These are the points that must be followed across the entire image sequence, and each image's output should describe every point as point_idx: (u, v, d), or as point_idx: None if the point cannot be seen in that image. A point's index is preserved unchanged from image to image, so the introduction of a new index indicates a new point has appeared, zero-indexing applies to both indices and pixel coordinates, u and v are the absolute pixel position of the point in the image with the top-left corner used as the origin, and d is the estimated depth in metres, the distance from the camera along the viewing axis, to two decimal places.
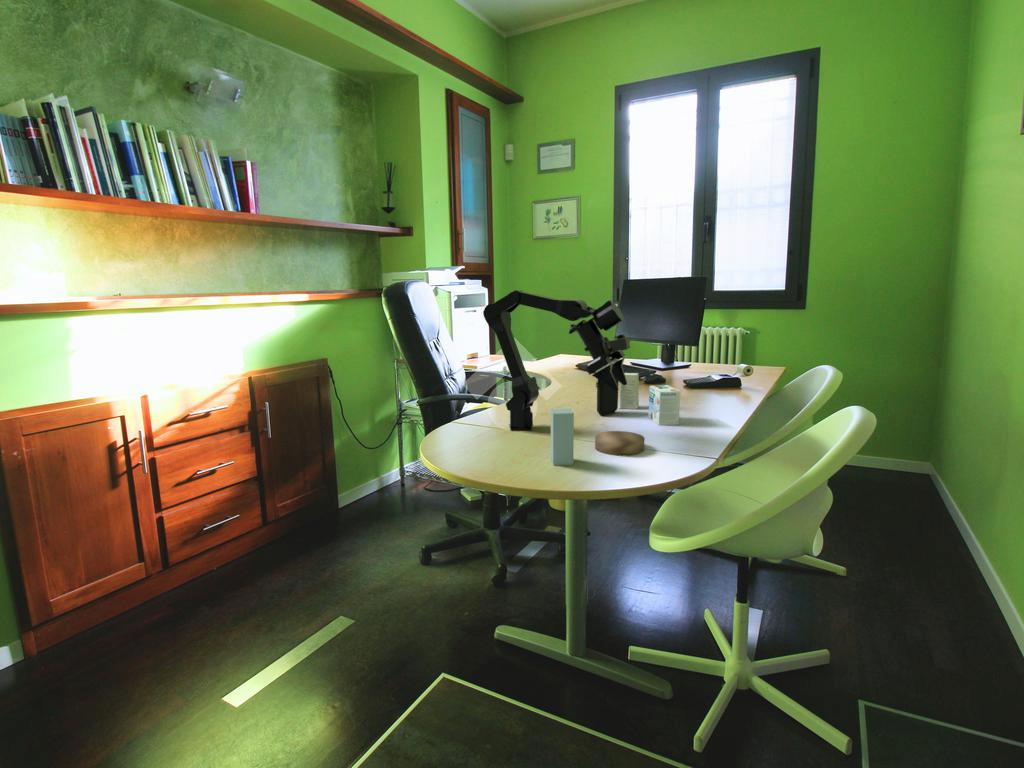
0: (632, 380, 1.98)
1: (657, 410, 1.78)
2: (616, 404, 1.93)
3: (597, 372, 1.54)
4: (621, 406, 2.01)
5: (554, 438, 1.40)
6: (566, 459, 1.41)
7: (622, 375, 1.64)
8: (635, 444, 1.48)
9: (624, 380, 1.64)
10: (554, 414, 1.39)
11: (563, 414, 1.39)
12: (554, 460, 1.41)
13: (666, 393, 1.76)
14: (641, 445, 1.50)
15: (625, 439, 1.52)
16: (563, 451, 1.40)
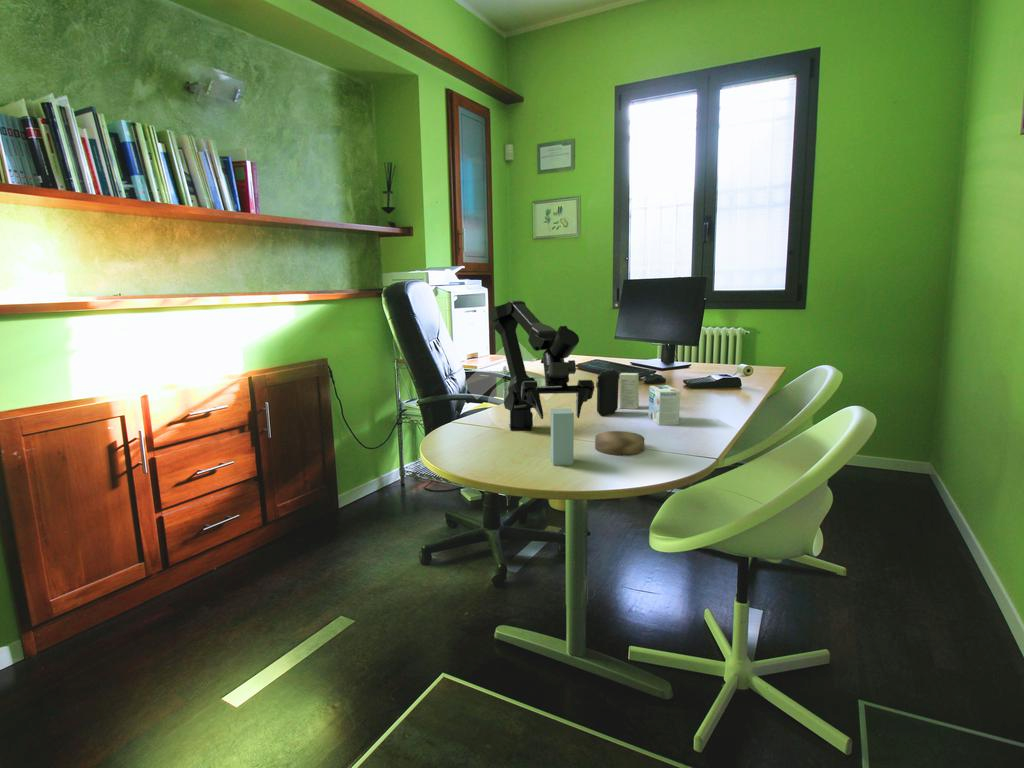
0: (632, 380, 1.98)
1: (657, 410, 1.78)
2: (616, 404, 1.93)
3: (527, 398, 1.49)
4: (621, 406, 2.01)
5: (554, 438, 1.40)
6: (566, 459, 1.41)
7: (577, 407, 1.46)
8: (635, 444, 1.48)
9: (577, 412, 1.46)
10: (554, 414, 1.39)
11: (563, 414, 1.39)
12: (554, 460, 1.41)
13: (666, 393, 1.76)
14: (641, 445, 1.50)
15: (625, 439, 1.52)
16: (563, 451, 1.40)
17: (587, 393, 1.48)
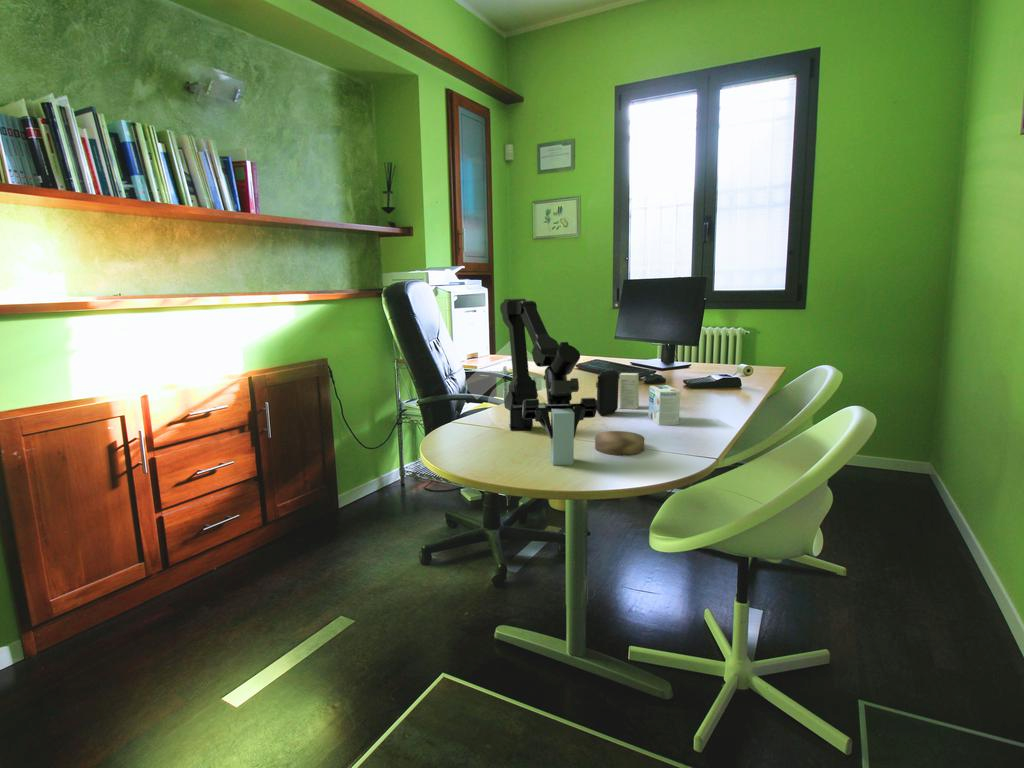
0: (632, 380, 1.98)
1: (657, 410, 1.78)
2: (616, 404, 1.93)
3: None
4: (621, 406, 2.01)
5: (554, 438, 1.40)
6: (566, 459, 1.41)
7: None
8: (635, 444, 1.48)
9: None
10: (555, 414, 1.39)
11: (564, 414, 1.39)
12: (554, 460, 1.41)
13: (666, 393, 1.76)
14: (641, 445, 1.50)
15: (625, 439, 1.52)
16: (563, 451, 1.40)
17: (583, 411, 1.44)
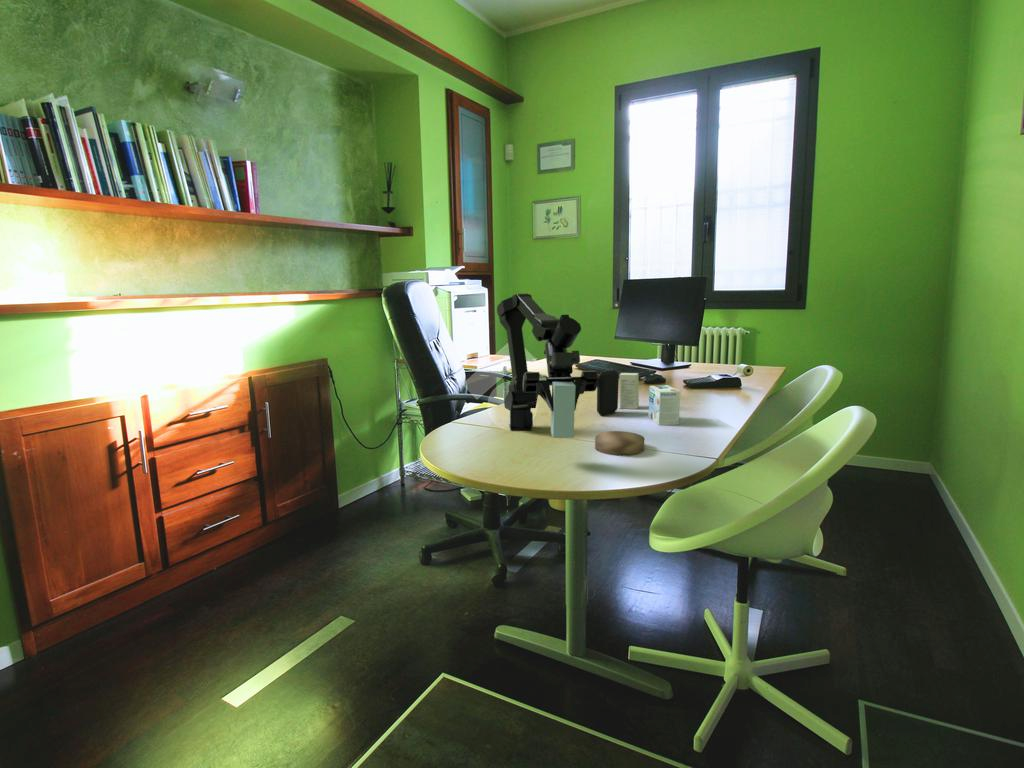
0: (632, 380, 1.98)
1: (657, 410, 1.78)
2: (616, 404, 1.93)
3: (536, 389, 1.44)
4: (621, 406, 2.01)
5: (555, 410, 1.38)
6: (567, 432, 1.40)
7: None
8: (635, 444, 1.48)
9: None
10: (556, 386, 1.37)
11: (565, 386, 1.37)
12: (554, 433, 1.40)
13: (666, 393, 1.76)
14: (641, 445, 1.50)
15: (625, 439, 1.52)
16: (563, 423, 1.39)
17: (583, 384, 1.43)
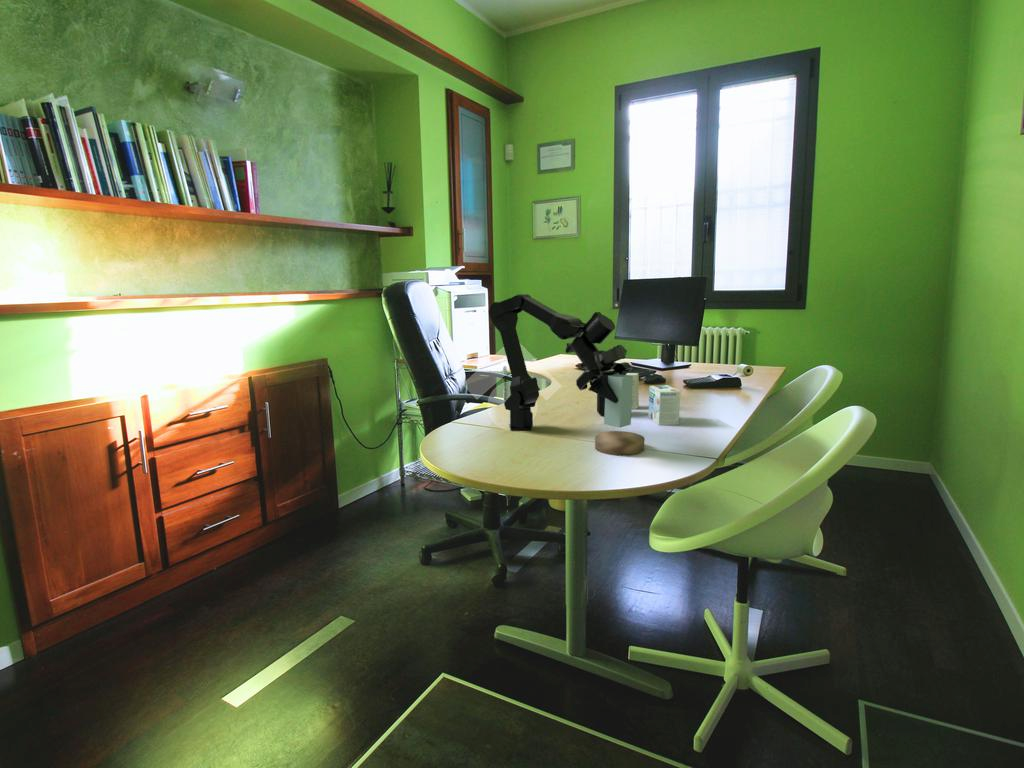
0: None
1: (657, 410, 1.78)
2: None
3: (592, 385, 1.49)
4: None
5: (621, 401, 1.48)
6: (627, 420, 1.51)
7: None
8: (635, 444, 1.48)
9: None
10: (622, 378, 1.47)
11: (627, 378, 1.48)
12: (620, 423, 1.49)
13: (666, 393, 1.76)
14: (641, 445, 1.50)
15: (625, 439, 1.52)
16: (625, 413, 1.50)
17: None
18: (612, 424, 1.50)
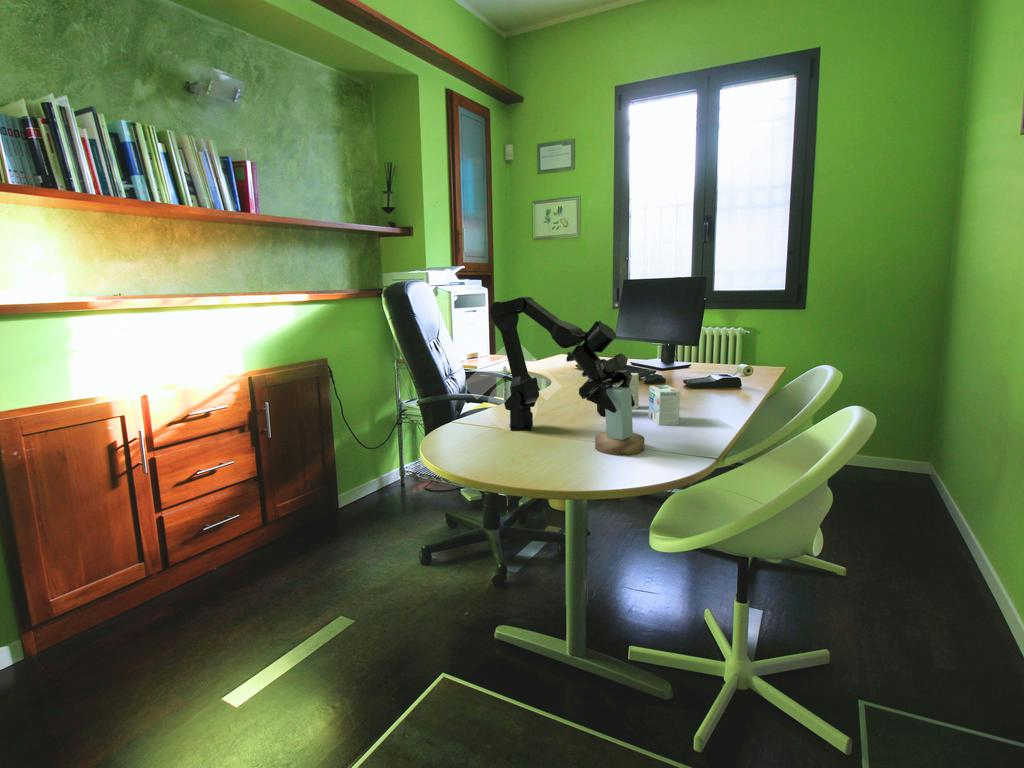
0: (632, 380, 1.98)
1: (657, 410, 1.78)
2: None
3: (590, 395, 1.48)
4: None
5: (622, 414, 1.49)
6: (629, 432, 1.52)
7: None
8: (635, 444, 1.48)
9: None
10: (621, 391, 1.48)
11: (625, 390, 1.50)
12: (623, 435, 1.50)
13: (666, 393, 1.76)
14: (641, 445, 1.50)
15: (625, 439, 1.52)
16: (627, 425, 1.51)
17: None
18: (615, 437, 1.52)
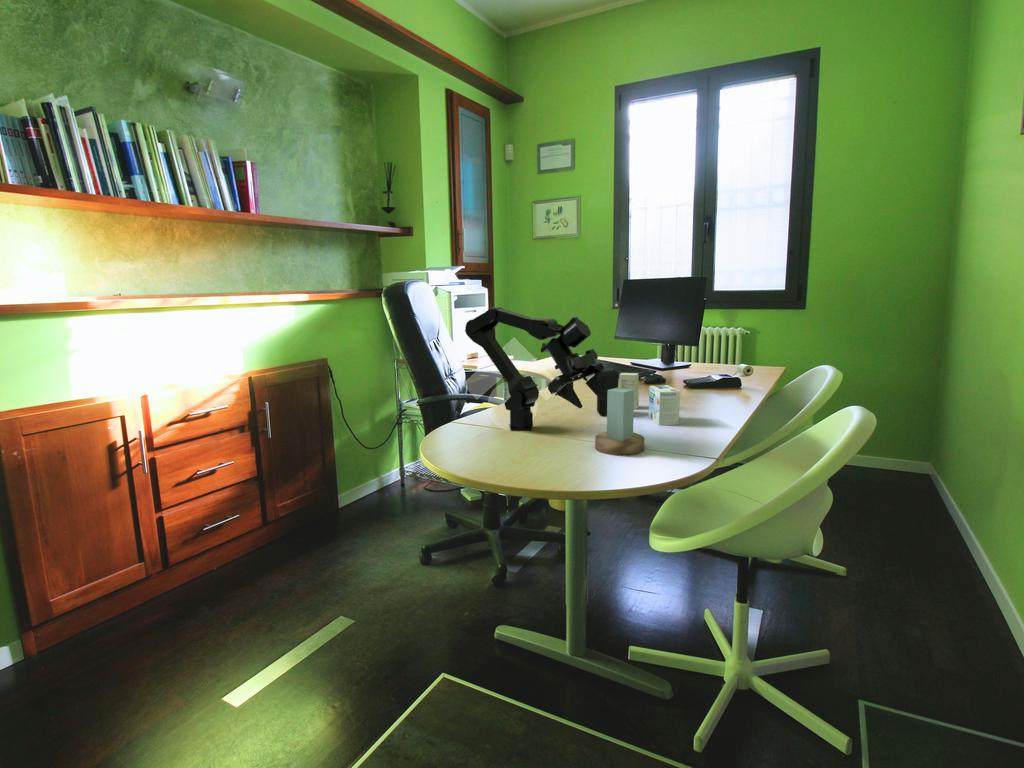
0: (632, 380, 1.98)
1: (657, 410, 1.78)
2: None
3: (558, 391, 1.57)
4: None
5: (623, 415, 1.49)
6: (629, 433, 1.52)
7: (598, 389, 1.63)
8: (635, 444, 1.48)
9: (600, 394, 1.62)
10: (624, 393, 1.48)
11: (629, 392, 1.50)
12: (623, 436, 1.50)
13: (666, 393, 1.76)
14: (641, 445, 1.50)
15: None
16: (628, 426, 1.51)
17: None
18: (615, 437, 1.52)
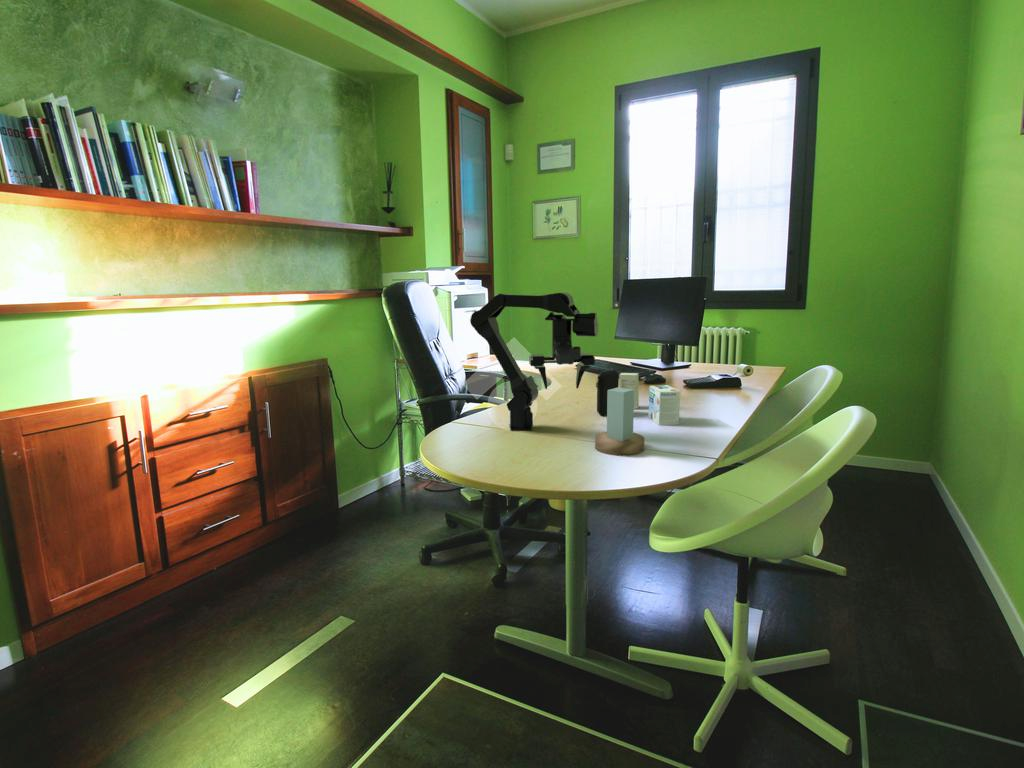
0: (632, 380, 1.98)
1: (657, 410, 1.78)
2: None
3: (534, 365, 1.69)
4: None
5: (623, 415, 1.49)
6: (629, 433, 1.52)
7: (577, 379, 1.69)
8: (635, 444, 1.48)
9: (576, 384, 1.69)
10: (624, 393, 1.48)
11: (629, 392, 1.50)
12: (623, 436, 1.50)
13: (666, 393, 1.76)
14: (641, 445, 1.50)
15: None
16: (628, 426, 1.51)
17: None
18: (615, 437, 1.52)
